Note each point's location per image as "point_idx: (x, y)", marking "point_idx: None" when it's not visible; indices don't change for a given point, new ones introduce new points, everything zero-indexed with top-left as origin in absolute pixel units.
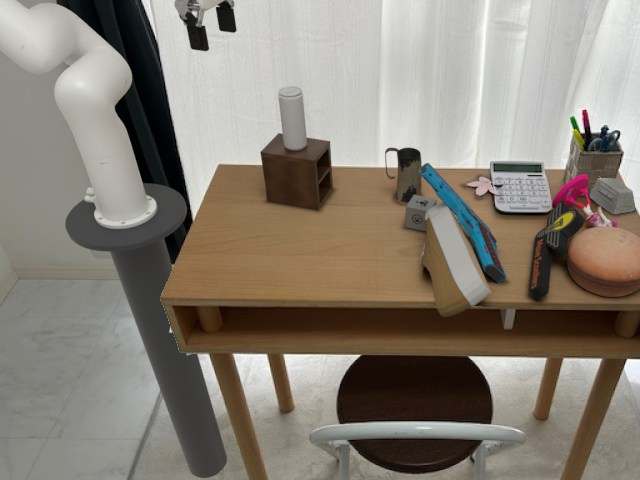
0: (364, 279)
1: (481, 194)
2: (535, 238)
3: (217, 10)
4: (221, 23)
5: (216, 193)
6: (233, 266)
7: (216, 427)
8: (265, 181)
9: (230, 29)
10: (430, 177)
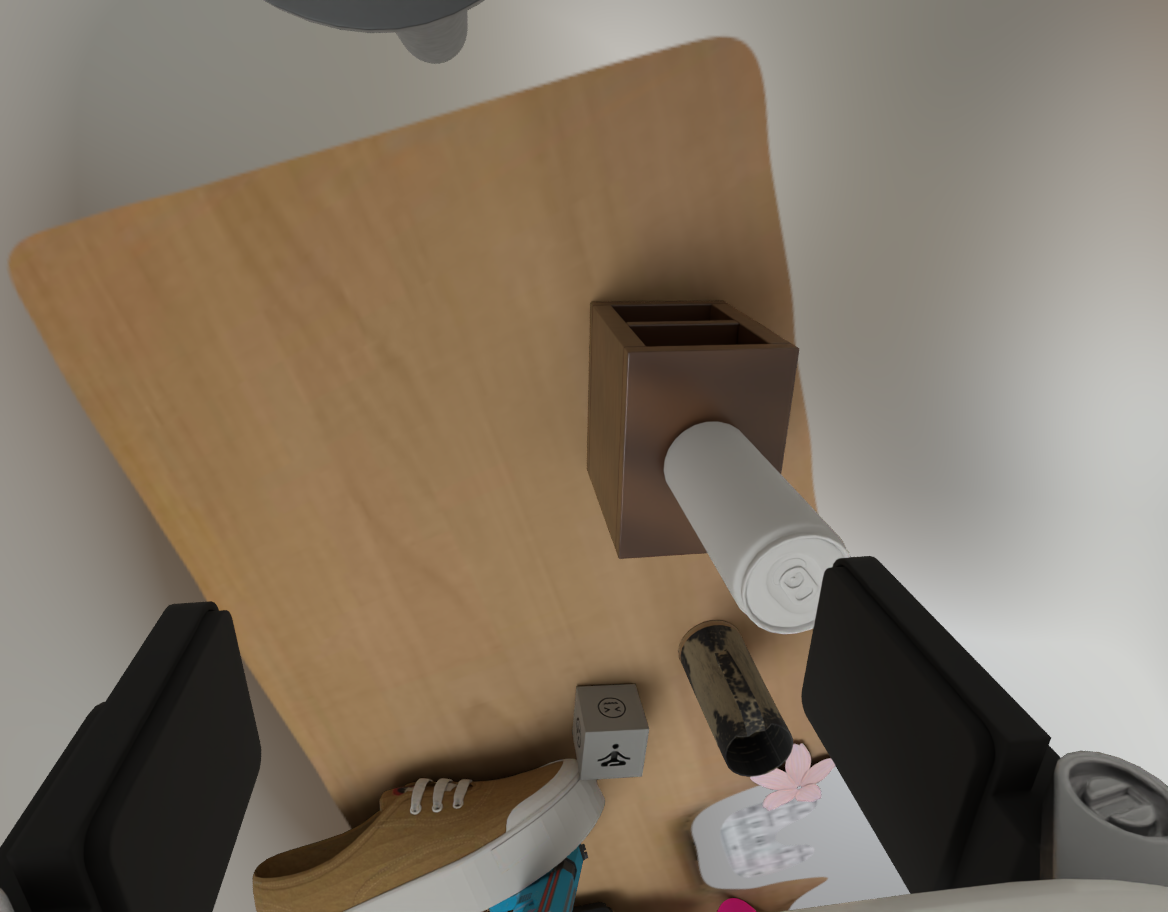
0: (339, 678)
1: (755, 780)
2: (595, 910)
3: (957, 744)
4: (861, 645)
5: (587, 89)
6: (226, 366)
7: (440, 50)
8: (603, 324)
9: (815, 693)
10: None
